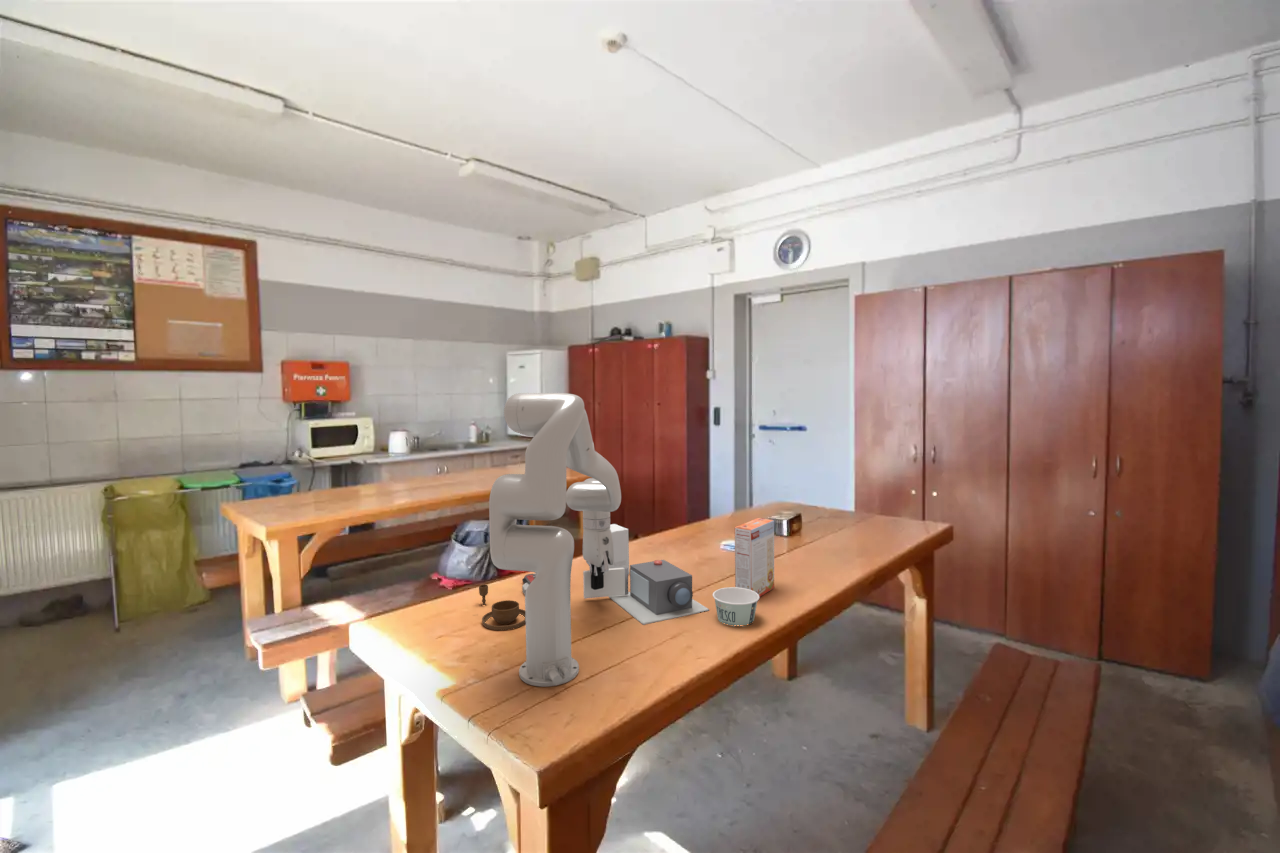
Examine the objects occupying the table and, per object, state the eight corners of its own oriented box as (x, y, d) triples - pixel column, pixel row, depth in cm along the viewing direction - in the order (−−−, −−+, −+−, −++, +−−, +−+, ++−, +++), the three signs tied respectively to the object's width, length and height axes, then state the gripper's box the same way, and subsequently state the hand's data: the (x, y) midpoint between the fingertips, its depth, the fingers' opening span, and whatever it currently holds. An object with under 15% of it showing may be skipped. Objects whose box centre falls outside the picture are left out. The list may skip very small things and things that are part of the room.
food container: (765, 616, 156) (765, 591, 156) (749, 632, 146) (749, 607, 145) (723, 607, 162) (723, 584, 162) (705, 623, 152) (705, 598, 152)
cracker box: (756, 584, 180) (757, 516, 179) (775, 588, 176) (775, 519, 175) (733, 597, 169) (733, 525, 168) (752, 602, 166) (752, 529, 164)
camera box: (709, 610, 160) (709, 573, 159) (643, 624, 151) (642, 585, 150) (669, 585, 180) (669, 552, 179) (608, 596, 171) (608, 562, 170)
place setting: (466, 635, 147) (465, 612, 146) (477, 605, 167) (476, 584, 166) (538, 630, 149) (537, 607, 149) (540, 601, 169) (540, 581, 168)
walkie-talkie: (515, 584, 183) (531, 607, 165) (515, 570, 182) (530, 591, 164) (543, 580, 186) (561, 602, 168) (543, 566, 186) (561, 586, 168)
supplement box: (615, 567, 198) (615, 523, 197) (629, 574, 190) (629, 528, 189) (591, 572, 193) (590, 527, 192) (605, 579, 185) (604, 532, 184)
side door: (584, 598, 167) (583, 572, 166) (583, 596, 168) (583, 570, 167) (628, 594, 170) (628, 568, 169) (627, 592, 171) (627, 567, 170)
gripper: (622, 526, 159) (623, 593, 161) (595, 516, 172) (595, 578, 173) (598, 530, 155) (598, 599, 156) (572, 519, 168) (572, 583, 169)
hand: (597, 588), depth 165 cm, fingers closed
